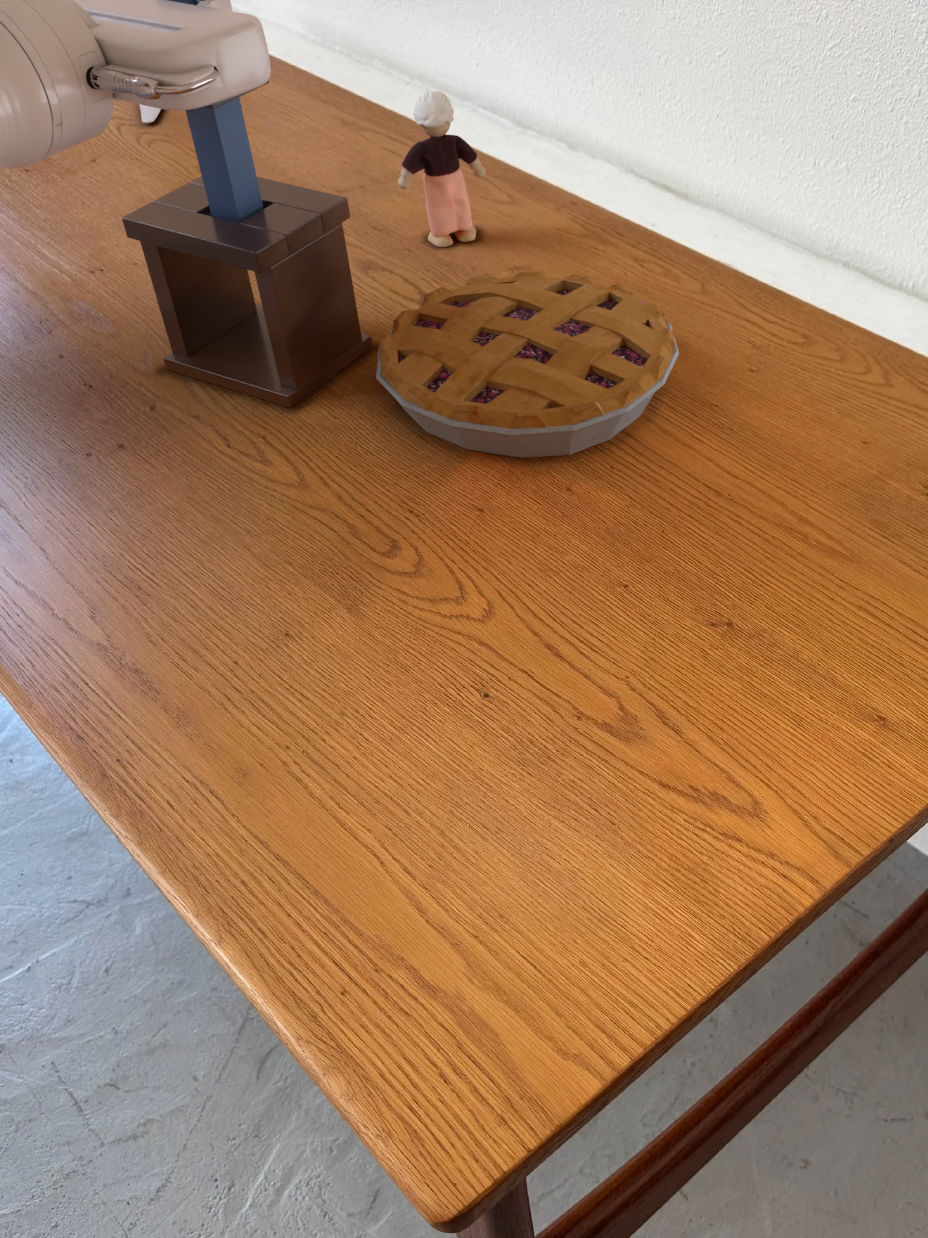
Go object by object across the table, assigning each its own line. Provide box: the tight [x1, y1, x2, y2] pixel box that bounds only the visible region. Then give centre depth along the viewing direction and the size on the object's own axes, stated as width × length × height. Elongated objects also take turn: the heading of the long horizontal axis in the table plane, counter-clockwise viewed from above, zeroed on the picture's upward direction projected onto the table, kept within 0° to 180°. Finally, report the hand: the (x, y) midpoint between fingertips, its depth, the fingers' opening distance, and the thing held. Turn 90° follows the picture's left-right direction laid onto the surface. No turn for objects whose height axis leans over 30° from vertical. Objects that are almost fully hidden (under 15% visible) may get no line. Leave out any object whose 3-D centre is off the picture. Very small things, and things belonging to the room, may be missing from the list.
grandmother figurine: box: [397, 90, 487, 248], centre depth 107 cm, size 8×4×13 cm, turn 126°
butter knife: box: [138, 104, 162, 124], centre depth 140 cm, size 1×27×3 cm
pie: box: [375, 271, 680, 459], centre depth 91 cm, size 22×22×5 cm
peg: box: [169, 0, 270, 224], centre depth 82 cm, size 6×6×17 cm
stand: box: [121, 175, 373, 409], centre depth 92 cm, size 10×12×12 cm
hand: (199, 4), depth 79 cm, fingers closed on peg, 2 cm apart
